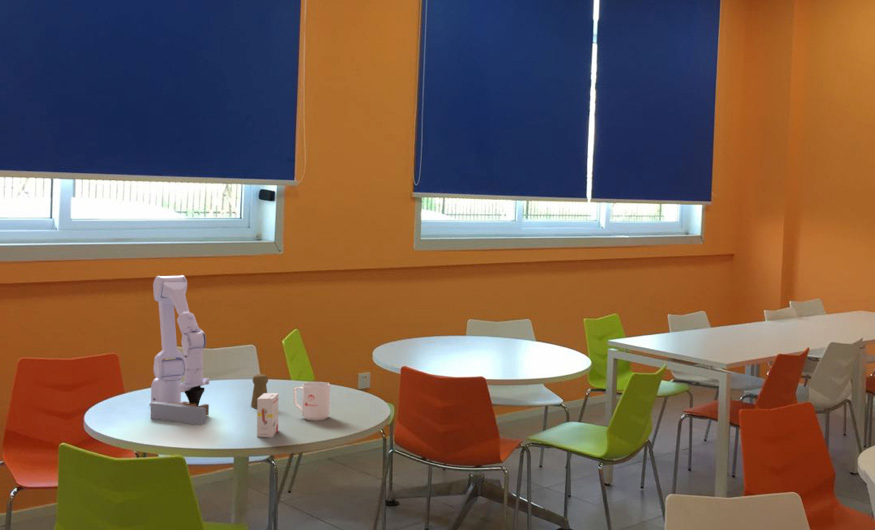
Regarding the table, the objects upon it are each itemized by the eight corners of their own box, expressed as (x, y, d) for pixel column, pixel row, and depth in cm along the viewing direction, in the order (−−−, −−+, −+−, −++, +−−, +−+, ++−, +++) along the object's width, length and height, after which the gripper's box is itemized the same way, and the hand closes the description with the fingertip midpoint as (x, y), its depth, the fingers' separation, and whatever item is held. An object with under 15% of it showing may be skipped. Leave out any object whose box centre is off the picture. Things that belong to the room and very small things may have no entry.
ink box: (262, 429, 277) (263, 392, 276) (278, 430, 277) (279, 392, 276) (256, 437, 269) (256, 398, 268) (272, 437, 269) (273, 398, 268)
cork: (264, 408, 305) (265, 376, 304) (248, 407, 306) (248, 375, 305) (271, 405, 311) (272, 373, 310) (255, 403, 312) (255, 372, 311)
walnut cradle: (168, 417, 288) (168, 403, 288) (184, 411, 296) (184, 398, 295) (193, 420, 285) (194, 406, 285) (208, 415, 292) (208, 401, 292)
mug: (332, 415, 298) (333, 382, 297) (324, 422, 289) (325, 388, 288) (298, 413, 300) (298, 380, 299) (289, 419, 291) (289, 385, 291)
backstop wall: (150, 418, 287) (150, 402, 287) (155, 416, 289) (155, 401, 289) (201, 425, 281) (201, 409, 280) (205, 423, 283) (205, 407, 282)
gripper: (190, 373, 283) (191, 416, 284) (217, 365, 297) (217, 406, 297) (172, 371, 285) (172, 413, 286) (199, 364, 299) (199, 404, 300)
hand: (193, 410), depth 292 cm, fingers closed, pressing on oak dowel
